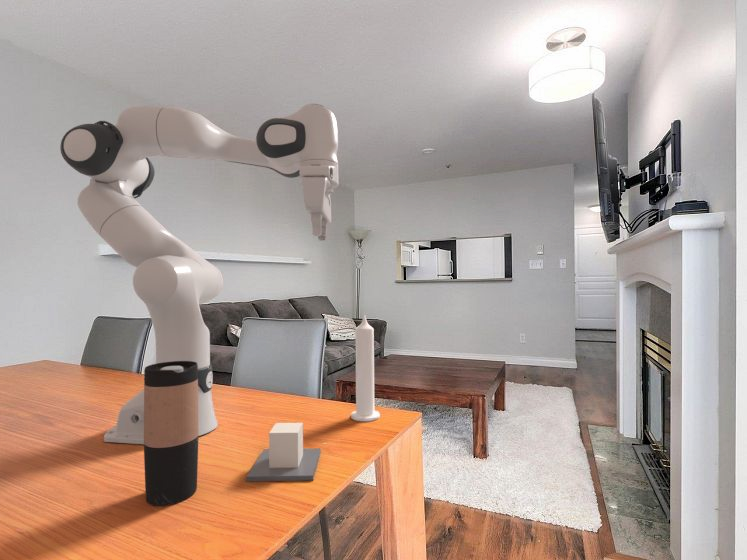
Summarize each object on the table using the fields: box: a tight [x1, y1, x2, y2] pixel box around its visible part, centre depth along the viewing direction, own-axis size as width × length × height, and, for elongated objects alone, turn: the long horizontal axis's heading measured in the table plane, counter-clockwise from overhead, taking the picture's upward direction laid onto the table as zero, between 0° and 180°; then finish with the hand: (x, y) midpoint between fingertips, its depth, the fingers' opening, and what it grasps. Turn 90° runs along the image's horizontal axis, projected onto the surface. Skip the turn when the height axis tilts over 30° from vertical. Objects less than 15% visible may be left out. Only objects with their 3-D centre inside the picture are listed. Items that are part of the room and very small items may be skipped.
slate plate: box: [245, 447, 322, 482], centre depth 71 cm, size 11×11×1 cm
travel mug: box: [143, 361, 199, 507], centre depth 62 cm, size 8×8×20 cm
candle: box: [350, 314, 381, 422], centre depth 98 cm, size 7×7×25 cm
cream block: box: [268, 422, 304, 468], centre depth 71 cm, size 5×5×6 cm
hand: (319, 238), depth 91 cm, fingers open, 8 cm apart
